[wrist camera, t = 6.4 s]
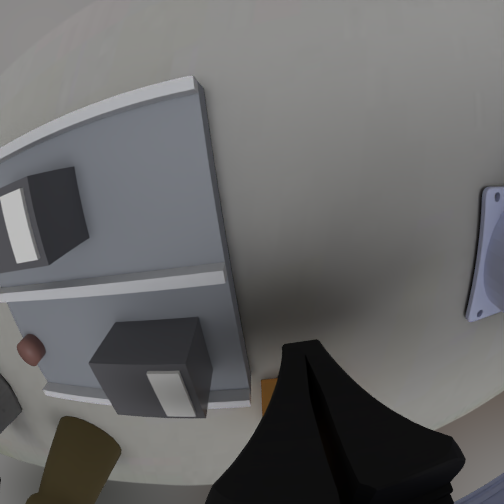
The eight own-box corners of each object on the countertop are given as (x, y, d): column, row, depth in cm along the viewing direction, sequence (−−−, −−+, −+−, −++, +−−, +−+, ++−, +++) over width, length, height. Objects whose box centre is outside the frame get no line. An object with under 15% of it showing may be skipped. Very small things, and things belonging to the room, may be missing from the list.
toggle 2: (198, 316, 12) (184, 367, 9) (213, 369, 13) (205, 421, 10) (115, 321, 12) (86, 365, 9) (136, 371, 13) (116, 416, 10)
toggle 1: (74, 166, 10) (23, 176, 7) (89, 237, 11) (46, 267, 8) (13, 189, 10) (-34, 204, 7) (28, 250, 11) (-14, 276, 8)
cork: (48, 410, 17) (-1, 504, 7) (103, 423, 17) (59, 539, 7) (79, 450, 19) (45, 535, 9) (131, 461, 19) (105, 560, 9)
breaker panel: (203, 88, 10) (191, 73, 8) (250, 375, 15) (250, 409, 13) (-11, 166, 11) (-41, 173, 8) (60, 373, 15) (45, 397, 13)
